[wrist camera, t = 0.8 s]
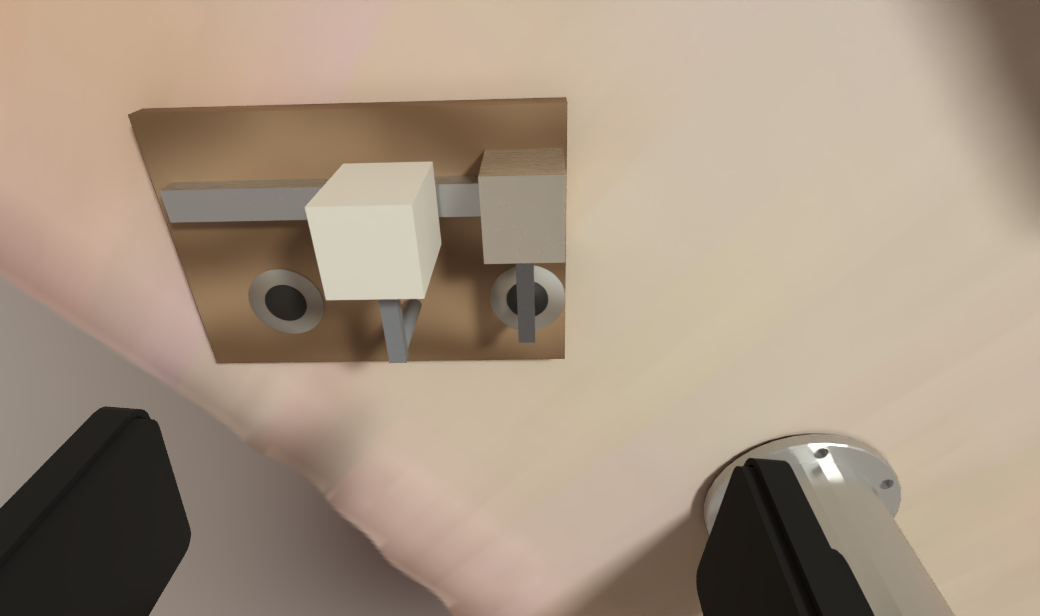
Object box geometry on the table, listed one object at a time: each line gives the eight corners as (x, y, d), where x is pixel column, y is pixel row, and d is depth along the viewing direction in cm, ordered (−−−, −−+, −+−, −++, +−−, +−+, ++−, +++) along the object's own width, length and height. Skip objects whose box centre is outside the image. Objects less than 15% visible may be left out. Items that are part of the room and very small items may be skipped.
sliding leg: (452, 310, 32) (435, 384, 26) (377, 311, 32) (345, 386, 26) (436, 154, 27) (411, 204, 22) (349, 156, 27) (304, 206, 22)
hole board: (563, 346, 35) (564, 360, 34) (226, 350, 35) (216, 364, 34) (565, 97, 28) (567, 104, 26) (142, 108, 28) (125, 115, 27)
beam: (561, 304, 32) (564, 344, 29) (216, 309, 33) (180, 349, 29) (562, 148, 28) (566, 174, 24) (164, 157, 28) (116, 184, 25)
